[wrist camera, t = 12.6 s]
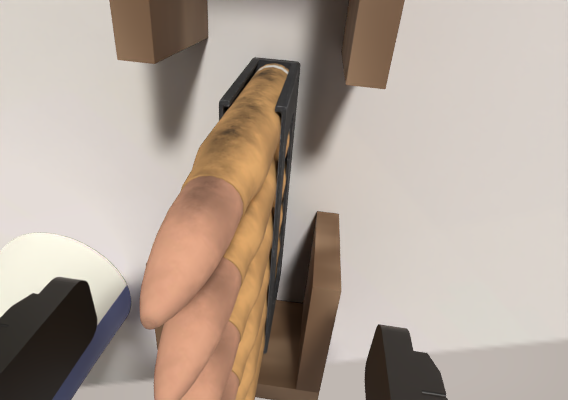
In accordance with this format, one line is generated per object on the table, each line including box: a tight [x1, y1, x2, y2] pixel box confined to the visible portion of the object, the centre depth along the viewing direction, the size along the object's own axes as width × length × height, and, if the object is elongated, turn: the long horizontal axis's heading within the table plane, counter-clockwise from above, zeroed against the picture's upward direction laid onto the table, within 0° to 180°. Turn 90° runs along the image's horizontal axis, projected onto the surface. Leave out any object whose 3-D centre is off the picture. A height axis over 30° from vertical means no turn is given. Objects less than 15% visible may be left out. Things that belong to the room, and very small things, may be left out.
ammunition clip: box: [140, 57, 300, 400], centre depth 12 cm, size 11×2×12 cm, turn 176°
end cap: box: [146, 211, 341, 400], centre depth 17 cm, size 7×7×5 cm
